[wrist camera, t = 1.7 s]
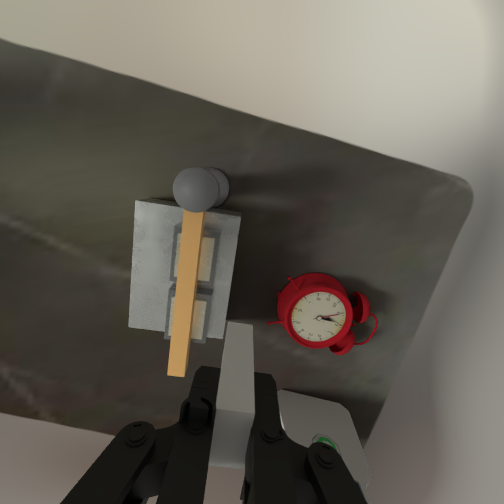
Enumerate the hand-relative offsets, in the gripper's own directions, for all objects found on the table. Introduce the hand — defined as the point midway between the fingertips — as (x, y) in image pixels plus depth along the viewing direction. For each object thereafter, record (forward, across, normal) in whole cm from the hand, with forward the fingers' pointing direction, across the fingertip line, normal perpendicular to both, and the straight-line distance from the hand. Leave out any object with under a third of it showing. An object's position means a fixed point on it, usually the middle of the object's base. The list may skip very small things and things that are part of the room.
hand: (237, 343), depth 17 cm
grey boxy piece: (+22, -7, 0) cm, 23 cm away
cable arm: (+21, -6, -1) cm, 22 cm away
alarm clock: (+22, +13, -7) cm, 27 cm away
